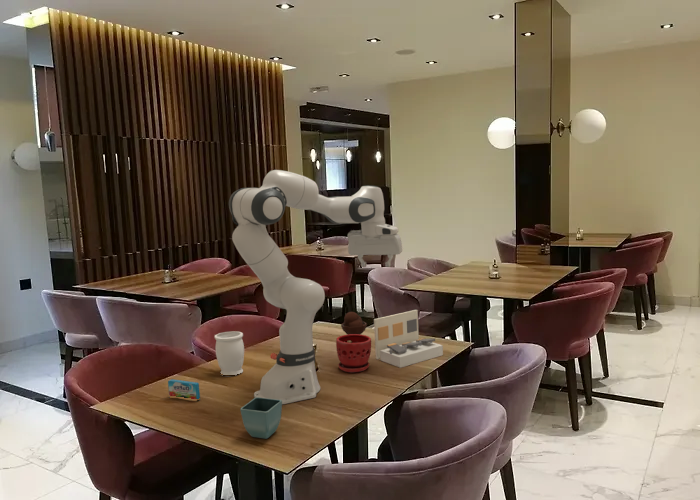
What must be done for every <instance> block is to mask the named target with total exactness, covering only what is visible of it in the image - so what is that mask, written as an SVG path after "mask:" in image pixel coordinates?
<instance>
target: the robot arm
mask: <svg viewBox="0 0 700 500" xmlns="http://www.w3.org/2000/svg"><path fill="white" fill-rule="evenodd" d="M319 192H320V191H319V187H318V184H317V183H316V181H314V180H313V179H311V178H309V177H307V176H305V175H302V174H298V173H296V172H292V171H287V170H282V169H274V170H273V169H272V170H269V172H268V173H267V174H266V175H265V176H264V178H263V181H262V185H261V186H260V187H242V188H239V189H237V190H235V191H234V192H233V193H231V195H230V197H229V200H228V208H229V209H228V210H229V212H230V214H231V216H232V222H233V223H234V224H235V225H236V228H234V230H233V231H232V236H231V238H232V242H233V244H234V246H235V248H236V250H237V252H238V253H239V255H240V256H241V258H242V259H243V260H244V262H245V264H247V266H249V268H250V269H251V270H252V272H253V273H254V274H255V275H256V276H257V278H258V279H259V281H260V282H261V285H262V287H263V289H262V291H263V297H264V299H265V301H266V302H267V303H269V304H271V306H274V307H276V308H278V309H283V310H284V309H285V310H286V316H285V320H284V323H282V324H281V325H280V327H279V331H278V333H279V334H278V335H279V348H280V350H279V352H278V354H277V353H275V352H271V354H270V358H271V360H275V361H276V363H275V364H274V365H273V366H272V367H271V368H269V370H268V371H267V372H266V373H265V374H264V375H263V376H262V377H261V380H260V389H259V390H257V391H255V392H254V393H253V397H254V398H256V397H259V398H267V399H276V400H282V405H286V404H291V403H294V402H295V403H296V402H299V401H305V400H309V399H314V398H316V397H317V393H319V392H320V391H321V386H320V383H319V378H318V375H317V371H316V366H315V363H316V352H315V348H314V339H313V337H314V336H313V325H314V319H315V316H316V313H317V312H318V311H319V310H320V309H321V308H322V306H324V305H323V304H324V302H325V299H326V298H325V297H326V295H325V290H324V287H323V286H322V285H321V284H320V283H318V282H316V281H315V280H311V279H308V278H301V277H296V276H294V275H293V274H291V273H290V271H289V268H288V265H289V260H288V258H287V256H286V255H285V254H284V252H283V251H282V249H281V248H280V247H279V246H278V245H277V243H276V242H275V240H274V239H273V238H272V237H271V236H270V235H269V233H268V230H267V228H266V227H267V226H268V225H274V224H275V223H278V222H279V221H280V220H281V219H282V217H283V215H284V213H285V211H286V207H289V208H292V209H296V210H304V211H305V210H307V211H312V212H315V213H318V214H321V215H322V216H323V217H325V218H326V219H327V220H328V221H329V222H330V223H332V224H360V225H361V229H359V230H354V229H353V230H352V229H351V230H350V231H349V232H348V233H347V241H348V245H347V252H348V254H349V255H350V256H357V259H358V260H359V263H360V266H361V268H366V267H367V261H365V260H364V259H363V258H364V256H381V255H382V256H386V255H387V258H388V260H387V261H385V262H384V263H385V268H390V267H391V266H392V265H391V264H392V263H391V262H392V260H393V258H394V255H397V256H398V255H400V254H401V253H402V252H403V243H402V238H401V236H400V234H398V233H399V228H398V227H397V226H395V225H391V224H387V223H386V218H385V217H384V213H385V200H384V193H383V191H382V189H381V187H379V186H377V185H368V184H367V185H362V186H361V187H360V189H359V190H358V191H357V192H355V193H354V194H352V195H351V196H350V195H349V196H338V195H337V196H329V197H327V196H325V195H323V194H320V193H319ZM254 398H253V399H254Z"/></svg>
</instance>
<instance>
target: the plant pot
mask: <svg viewBox="0 0 700 500" xmlns="http://www.w3.org/2000/svg"><path fill="white" fill-rule="evenodd" d="M349 341H350V342H349ZM351 342H352V343H351ZM355 342H357V343H355ZM335 343H336V344H335V345H336V354H337V358H338V360H339V363H338V364H337V365H338V368H339V369H340V370H341V371H343V372H346V373H360V372H364V371H366V370H367V369H368V368H369V366H370V363H369V360H370V357H371V354H372V353H371V352H372V338H371V337H370V336H368V335H366V334H349V335H347V334H343V335H340V336H337V337H336V340H335Z"/></svg>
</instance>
